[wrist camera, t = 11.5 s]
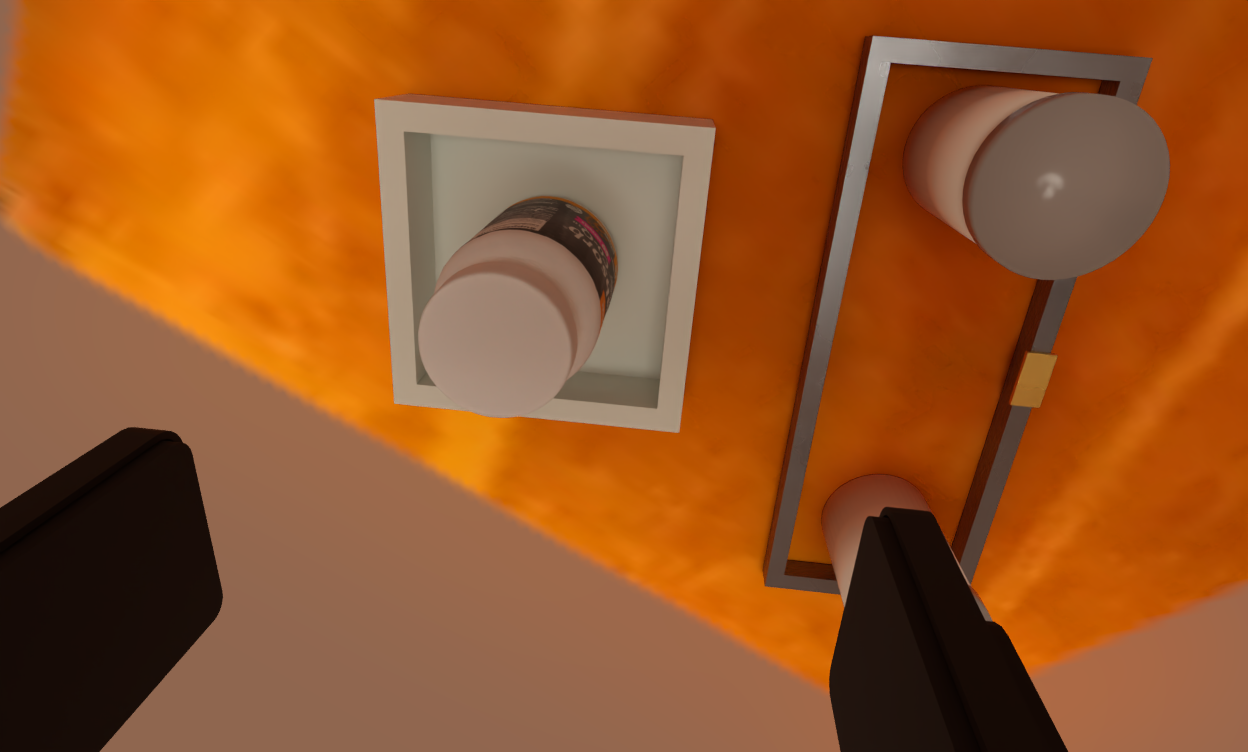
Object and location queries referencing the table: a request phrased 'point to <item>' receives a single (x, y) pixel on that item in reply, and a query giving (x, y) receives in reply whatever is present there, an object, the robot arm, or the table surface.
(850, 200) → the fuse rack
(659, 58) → the table surface
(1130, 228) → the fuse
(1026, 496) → the table surface
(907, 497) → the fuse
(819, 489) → the table surface
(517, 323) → the pill bottle
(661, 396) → the tray
